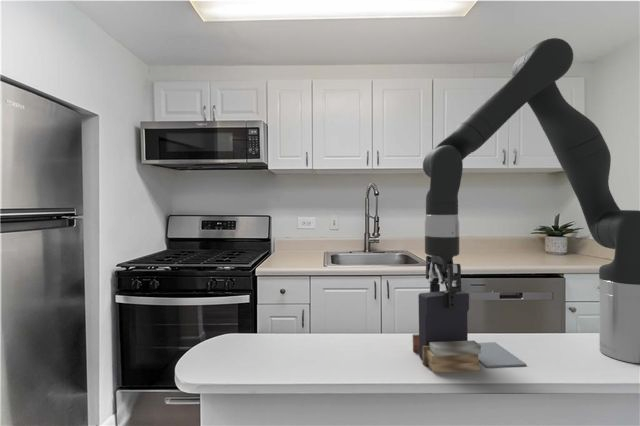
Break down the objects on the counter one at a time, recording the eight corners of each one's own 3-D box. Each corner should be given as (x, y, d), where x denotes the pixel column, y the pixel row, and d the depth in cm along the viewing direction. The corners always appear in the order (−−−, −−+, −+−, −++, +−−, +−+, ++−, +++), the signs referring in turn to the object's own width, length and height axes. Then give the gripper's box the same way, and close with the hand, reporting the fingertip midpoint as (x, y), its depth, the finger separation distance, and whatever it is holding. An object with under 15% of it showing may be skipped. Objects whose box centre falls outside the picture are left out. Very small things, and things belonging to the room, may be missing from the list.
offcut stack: (474, 364, 75) (474, 340, 75) (481, 370, 72) (480, 345, 72) (427, 366, 74) (426, 342, 74) (432, 373, 72) (431, 347, 71)
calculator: (457, 350, 82) (457, 288, 82) (469, 358, 78) (469, 292, 78) (417, 356, 79) (416, 292, 79) (427, 364, 75) (426, 297, 75)
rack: (460, 348, 83) (460, 332, 83) (476, 363, 75) (476, 345, 75) (412, 350, 82) (412, 334, 82) (423, 365, 75) (423, 347, 75)
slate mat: (495, 343, 86) (495, 342, 86) (526, 365, 74) (526, 364, 74) (460, 345, 85) (460, 343, 85) (486, 367, 73) (486, 365, 73)
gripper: (473, 236, 71) (473, 313, 72) (444, 231, 86) (445, 296, 86) (438, 237, 71) (438, 314, 71) (415, 232, 85) (415, 296, 86)
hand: (441, 304), depth 79 cm, fingers open, 8 cm apart
